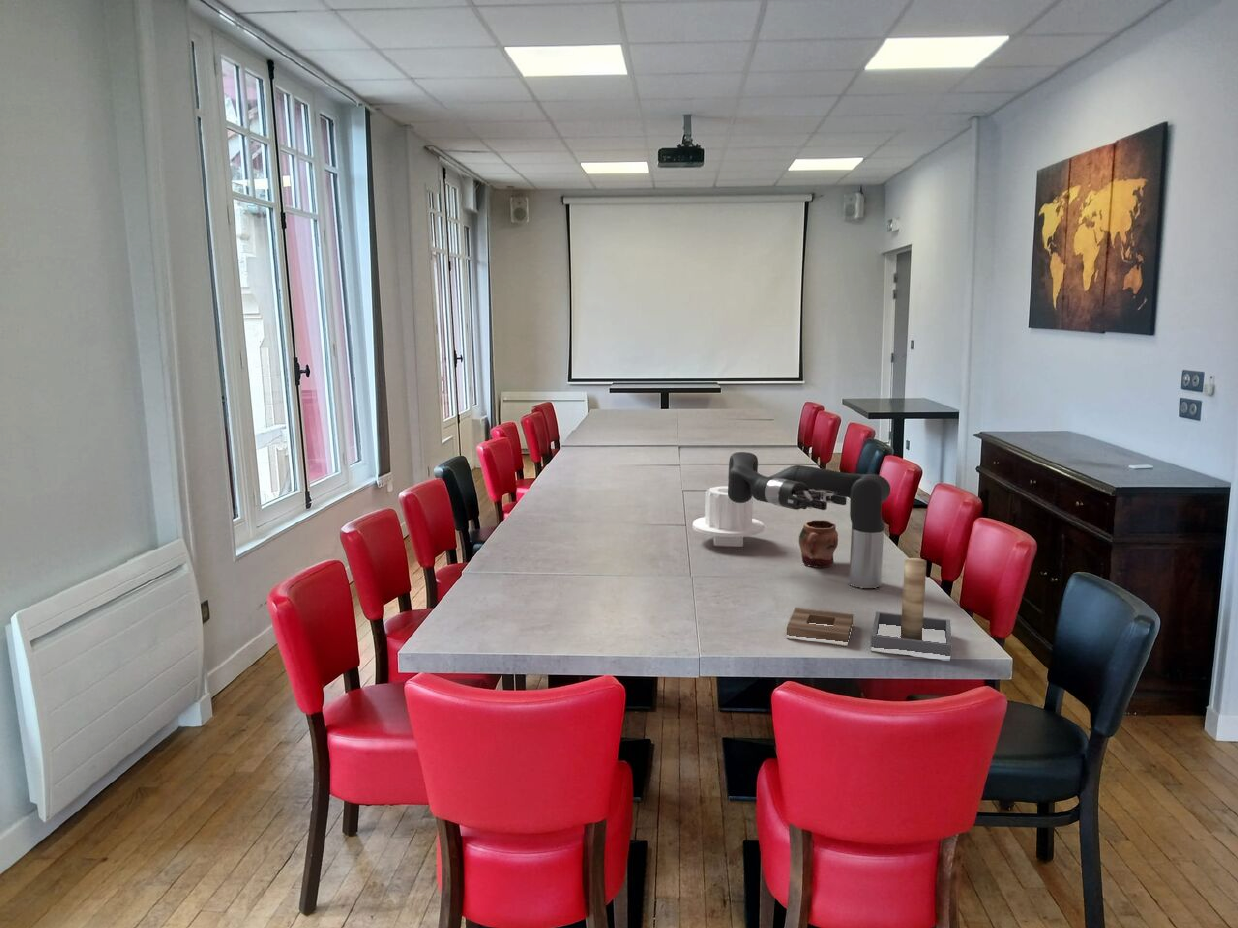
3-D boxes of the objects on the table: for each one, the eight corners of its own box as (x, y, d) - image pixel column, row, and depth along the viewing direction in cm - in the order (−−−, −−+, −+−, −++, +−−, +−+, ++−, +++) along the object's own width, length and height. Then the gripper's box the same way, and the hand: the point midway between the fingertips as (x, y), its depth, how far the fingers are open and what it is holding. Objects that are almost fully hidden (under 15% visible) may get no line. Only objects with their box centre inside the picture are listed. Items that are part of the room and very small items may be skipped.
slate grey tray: (875, 625, 224) (876, 611, 223) (949, 634, 218) (950, 619, 217) (870, 651, 207) (871, 635, 206) (950, 661, 201) (951, 645, 200)
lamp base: (761, 534, 314) (763, 483, 310) (766, 553, 289) (767, 499, 286) (693, 532, 316) (693, 482, 313) (691, 551, 292) (692, 497, 288)
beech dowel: (900, 633, 215) (905, 557, 212) (921, 636, 214) (926, 559, 210) (899, 641, 211) (904, 562, 207) (921, 643, 209) (926, 564, 206)
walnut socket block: (795, 618, 229) (795, 607, 229) (853, 625, 224) (853, 614, 224) (786, 638, 215) (786, 626, 215) (847, 646, 210) (848, 634, 210)
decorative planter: (829, 576, 265) (831, 533, 262) (790, 571, 270) (792, 528, 267) (842, 559, 282) (844, 518, 280) (805, 555, 288) (807, 514, 285)
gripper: (802, 503, 238) (851, 513, 226) (768, 510, 229) (818, 522, 217) (803, 476, 237) (852, 485, 225) (769, 483, 228) (819, 493, 216)
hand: (835, 503), depth 221 cm, fingers open, 8 cm apart
